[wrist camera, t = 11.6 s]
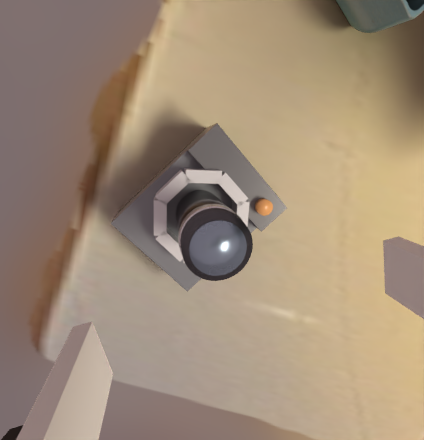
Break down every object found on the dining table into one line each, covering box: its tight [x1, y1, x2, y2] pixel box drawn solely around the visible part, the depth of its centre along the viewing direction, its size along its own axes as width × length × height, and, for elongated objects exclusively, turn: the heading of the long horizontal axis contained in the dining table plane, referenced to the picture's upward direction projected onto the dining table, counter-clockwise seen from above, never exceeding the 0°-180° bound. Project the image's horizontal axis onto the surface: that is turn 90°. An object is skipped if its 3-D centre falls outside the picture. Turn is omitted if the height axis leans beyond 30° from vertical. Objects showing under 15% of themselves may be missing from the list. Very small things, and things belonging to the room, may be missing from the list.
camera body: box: [111, 123, 287, 291], centre depth 30 cm, size 14×11×7 cm
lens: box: [176, 190, 253, 281], centre depth 24 cm, size 5×5×10 cm
